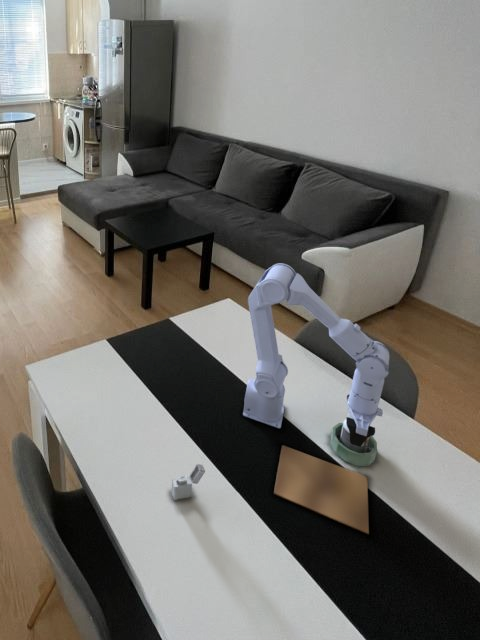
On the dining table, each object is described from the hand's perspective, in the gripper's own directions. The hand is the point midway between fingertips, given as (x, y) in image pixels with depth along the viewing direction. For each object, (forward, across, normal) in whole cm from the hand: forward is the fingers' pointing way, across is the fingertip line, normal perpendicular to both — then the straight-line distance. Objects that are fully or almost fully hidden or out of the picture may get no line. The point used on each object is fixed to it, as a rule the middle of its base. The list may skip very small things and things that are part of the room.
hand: (355, 434), depth 104 cm
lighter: (+5, -30, +32) cm, 44 cm away
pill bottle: (+5, 0, 0) cm, 5 cm away
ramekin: (+5, 0, 0) cm, 5 cm away
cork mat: (+5, -14, +6) cm, 16 cm away
